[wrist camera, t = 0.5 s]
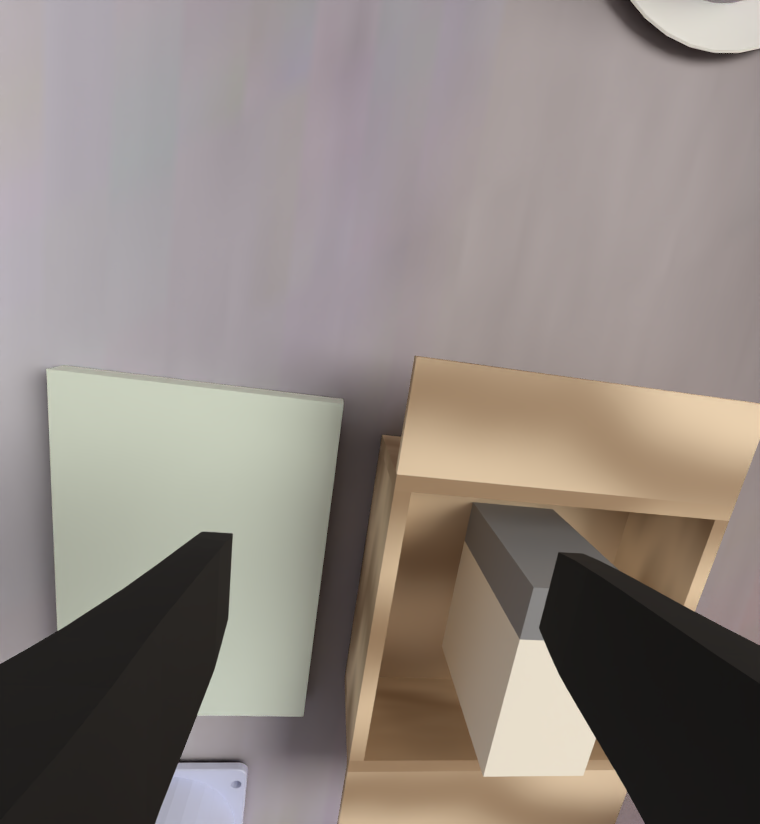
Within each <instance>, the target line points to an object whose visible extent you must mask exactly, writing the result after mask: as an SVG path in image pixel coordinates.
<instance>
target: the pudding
mask: <svg viewBox="0 0 760 824" xmlns="http://www.w3.org/2000/svg"><path fill="white" fill-rule="evenodd" d="M630 1H631V2H632V3H633V4H634V6H635V7H636V8H637V9H638V10H639V12H640V13H641V14H642V15H643V17H644V18H645V19H646V20H648V21H649V22H650V23H651V24H653V25H654V26H655V27H656V28H658V29H659V30H660V31H661V32H663V33H664V34H665V35H666V36H668V37H670V38H672V39H674V40H676V41H678V42H680V43H682V44H684V45H686V46H688V47H691V48H696V49H700V50H704V51H709V52H713V53H741V52H746V51H750V50H755V49H759V48H760V0H744V1H740V2H735V3H712V2H708V1H704V0H630Z"/></svg>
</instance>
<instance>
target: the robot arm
mask: <svg viewBox="0 0 760 824" xmlns="http://www.w3.org/2000/svg"><path fill="white" fill-rule="evenodd" d="M232 541H233V533H220V532H201V533H199V534H198V535H196V536H195V537H193V538H192V539H191V540H189V541H188V542H187V543H185V544H184V545H183V546H181V547H180V548H179V549H177V550H176V551H175V552H173V553H172V554H171V555H169V556H168V557H166V558H165V559H164V560H162V561H161V562H160V563H158V564H157V565H156V566H154V567H153V568H151V569H150V570H149V571H147V572H146V573H144V574H143V575H142V576H140V577H139V578H137V579H136V580H135V581H133V582H132V583H130V584H129V585H128V586H126V587H125V588H123V589H122V590H120V591H119V592H117V593H116V594H114V595H113V596H111V597H110V598H108V599H107V600H105V601H103V602H102V603H100V604H99V605H97V606H96V607H94V608H93V609H91V610H90V611H88V612H87V613H85V614H84V615H82V616H80V617H79V618H77V619H76V620H74V621H73V622H71V623H70V624H68V625H67V626H65V627H63V628H62V629H60V630H58V631H57V632H55V633H54V634H52V635H50V636H49V637H47V638H45V639H43V640H42V641H40V642H38V643H37V644H35V645H33V646H32V647H30V648H28V649H26V650H25V651H23V652H21V653H19V654H17V655H16V656H14V657H12V658H10V659H8V660H7V661H5V662H3V663H1V664H0V824H243V818H244V807H245V797H246V786H247V775H248V767H247V766H246V765H245V764H244V763H240V762H218V763H179V760H180V757H181V755H182V752H183V750H184V747H185V745H186V742H187V740H188V737H189V734H190V732H191V729H192V727H193V724H194V722H195V719H196V717H197V714H198V711H199V709H200V706H201V704H202V701H203V698H204V696H205V693H206V691H207V688H208V686H209V683H210V680H211V678H212V675H213V672H214V670H215V666H216V663H217V659H218V655H219V652H220V648H221V645H222V641H223V637H224V633H225V629H226V626H227V622H228V616H229V597H230V578H231V559H232ZM539 630H540V632H541V635H542V637H543V639H544V642H545V644H546V647H547V649H548V652H549V654H550V656H551V658H552V660H553V663H554V665H555V667H556V669H557V671H558V674H559V676H560V677H561V679H562V681H563V683H564V684H565V686H566V688H567V690H568V691H569V693H570V695H571V697H572V698H573V700H574V702H575V704H576V705H577V707H578V709H579V710H580V712H581V714H582V716H583V717H584V719H585V721H586V722H587V724H588V726H589V727H590V729H591V731H592V733H593V734H594V736H595V738H596V739H597V741H598V743H599V744H600V746H601V748H602V749H603V751H604V753H605V755H606V756H607V758H608V760H609V761H610V763H611V765H612V766H613V768H614V770H615V771H616V773H617V775H618V777H619V778H620V780H621V782H622V783H623V785H624V787H625V788H626V790H627V792H628V793H629V795H630V797H631V799H632V801H633V802H634V804H635V806H636V808H637V810H638V812H639V813H640V815H641V817H642V819H643V821H644V822H645V824H760V645H758V644H756V643H754V642H752V641H750V640H748V639H746V638H744V637H742V636H740V635H738V634H736V633H734V632H732V631H730V630H728V629H726V628H724V627H722V626H721V625H719V624H717V623H715V622H713V621H711V620H709V619H707V618H706V617H704V616H702V615H700V614H698V613H696V612H694V611H693V610H691V609H689V608H687V607H685V606H683V605H681V604H680V603H678V602H676V601H674V600H672V599H671V598H669V597H667V596H665V595H663V594H661V593H660V592H658V591H656V590H654V589H652V588H651V587H649V586H647V585H645V584H643V583H641V582H640V581H638V580H636V579H634V578H632V577H630V576H629V575H627V574H625V573H623V572H621V571H619V570H617V569H615V568H613V567H611V566H609V565H607V564H605V563H603V562H601V561H599V560H597V559H595V558H593V557H590V556H588V555H586V554H583V553H566V552H558V556H557V560H556V563H555V567H554V571H553V575H552V579H551V583H550V587H549V591H548V594H547V598H546V602H545V606H544V610H543V614H542V618H541V622H540V625H539Z"/></svg>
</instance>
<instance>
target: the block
mask: <svg viewBox="0 0 760 824" xmlns="http://www.w3.org/2000/svg"><path fill="white" fill-rule="evenodd" d="M558 552H566V553H583V554H586V555H588V556H590V557H593V558H595V559H597V560H599V561H601V562H603V563H605V564H607V565H609V566H611V567H613V568H615V569H617V568H616V567H615V566H614V565H613V564H612V563H611V562H610V561H609V560H608V559H606V558H605V557H604V556H603V555H602V554H601V553H600V552H599V551H598V550H597V549H596V548H595V547H593V546H592V545H591V544H590V543H589V542H588V541H587V540H586V539H585V538H584V537H583V536H581V535H580V534H579V533H578V532H577V531H576V530H575V529H574V528H573V527H572V526H571V525H570V524H568V523H567V522H566V521H565V520H564V519H563V518H562V517H561V516H560V515H559V514H558V513H557V512H555V511H554V510H553V509H545V508H534V507H523V506H512V505H500V504H489V503H478V502H473V504H472V508H471V513H470V517H469V522H468V527H467V531H466V536H465V541H464V545H463V550H462V554H461V559H460V564H459V568H458V573H457V578H456V582H455V587H454V592H453V596H452V601H451V605H450V610H449V615H448V619H447V624H446V629H445V633H444V638H443V642H442V649H443V652H444V655H445V658H446V661H447V664H448V667H449V671H450V674H451V677H452V680H453V683H454V686H455V689H456V693H457V696H458V699H459V702H460V705H461V708H462V712H463V715H464V718H465V721H466V724H467V727H468V730H469V734H470V737H471V740H472V743H473V746H474V749H475V752H476V756H477V759H478V762H479V765H480V768H481V771H482V774H483V777H504V776H583V775H584V772H585V769H586V766H587V763H588V760H589V757H590V755H591V752H592V749H593V746H594V743H595V740H596V738H595V736H594V734H593V733H592V731H591V729H590V727H589V726H588V724H587V722H586V721H585V719H584V717H583V716H582V714H581V712H580V710H579V709H578V707H577V705H576V704H575V702H574V700H573V698H572V697H571V695H570V693H569V691H568V690H567V688H566V686H565V684H564V683H563V681H562V679H561V677H560V676H559V674H558V671H557V669H556V667H555V665H554V663H553V660H552V658H551V656H550V654H549V652H548V649H547V647H546V644H545V642H544V639H543V637H542V635H541V632H540V630H539V625H540V622H541V618H542V614H543V610H544V606H545V602H546V598H547V594H548V591H549V587H550V583H551V579H552V575H553V571H554V567H555V563H556V560H557V556H558ZM617 570H618V569H617Z"/></svg>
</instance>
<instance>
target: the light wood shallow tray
mask: <svg viewBox="0 0 760 824" xmlns="http://www.w3.org/2000/svg"><path fill="white" fill-rule="evenodd" d="M759 440H760V403H753V402H746V401H739V400H732V399H724V398H717V397H710V396H703V395H695V394H688V393H681V392H674V391H667V390H659V389H652V388H645V387H638V386H630V385H623V384H616V383H609V382H601V381H594V380H587V379H580V378H573V377H565V376H558V375H551V374H544V373H536V372H529V371H522V370H515V369H507V368H500V367H493V366H486V365H479V364H471V363H464V362H457V361H450V360H442V359H435V358H428V357H421V356H415V357H414V363H413V369H412V375H411V381H410V387H409V393H408V399H407V406H406V412H405V418H404V424H403V430H402V436H401V437H399V436H390V435H382V438H381V444H380V451H379V457H378V464H377V470H376V477H375V483H374V490H373V496H372V503H371V509H370V516H369V522H368V529H367V535H366V542H365V548H364V555H363V561H362V568H361V574H360V581H359V587H358V594H357V600H356V607H355V613H354V620H353V626H352V633H351V639H350V646H349V652H348V658H347V665H346V671H345V707H346V743H347V768H346V774H345V780H344V786H343V792H342V798H341V804H340V810H339V816H338V822H337V824H615V822H616V819H617V817H618V814H619V811H620V809H621V806H622V803H623V801H624V798H625V795H626V793H627V790H626V788H625V787H624V785H623V783H622V782H621V780H620V778H619V777H618V775H617V773H616V771H615V770H614V768H613V766H612V765H611V763H610V761H609V760H608V758H607V756H606V755H605V753H604V751H603V749H602V748H601V746H600V744H599V743H598V741H597V739H596V740H595V743H594V746H593V749H592V752H591V755H590V757H589V760H588V763H587V766H586V769H585V772H584V775H583V776H504V777H483V774H482V771H481V768H480V765H479V762H478V759H477V756H476V752H475V749H474V746H473V743H472V740H471V737H470V734H469V730H468V727H467V724H466V721H465V718H464V715H463V712H462V708H461V705H460V702H459V699H458V696H457V693H456V689H455V686H454V683H453V680H452V677H451V674H450V671H449V667H448V664H447V661H446V658H445V655H444V652H443V649H442V642H443V638H444V633H445V629H446V624H447V619H448V615H449V610H450V605H451V601H452V596H453V592H454V587H455V582H456V578H457V573H458V568H459V564H460V559H461V554H462V550H463V545H464V541H465V536H466V531H467V527H468V522H469V517H470V513H471V508H472V504H473V502H478V503H489V504H500V505H512V506H523V507H534V508H545V509H553V510H554V511H555V512H557V513H558V514H559V515H560V516H561V517H562V518H563V519H564V520H565V521H566V522H567V523H568V524H570V525H571V526H572V527H573V528H574V529H575V530H576V531H577V532H578V533H579V534H580V535H581V536H583V537H584V538H585V539H586V540H587V541H588V542H589V543H590V544H591V545H592V546H593V547H595V548H596V549H597V550H598V551H599V552H600V553H601V554H602V555H603V556H604V557H605V558H606V559H608V560H609V561H610V562H611V563H612V564H613V565H614V566H615V567H616V568H617V569H618V570H619V571H621V572H623V573H625V574H627V575H629V576H630V577H632V578H634V579H636V580H638V581H640V582H641V583H643V584H645V585H647V586H649V587H651V588H652V589H654V590H656V591H658V592H660V593H661V594H663V595H665V596H667V597H669V598H671V599H672V600H674V601H676V602H678V603H680V604H681V605H683V606H685V607H687V608H689V609H691V610H693V611H694V612H695V610H696V607H697V604H698V602H699V599H700V596H701V594H702V591H703V588H704V586H705V583H706V580H707V578H708V575H709V572H710V570H711V567H712V564H713V562H714V559H715V556H716V554H717V551H718V549H719V546H720V543H721V541H722V538H723V535H724V533H725V530H726V527H727V525H728V522H729V519H730V517H731V514H732V511H733V509H734V506H735V503H736V501H737V498H738V495H739V493H740V490H741V488H742V485H743V482H744V480H745V477H746V474H747V472H748V469H749V466H750V464H751V461H752V458H753V456H754V453H755V450H756V448H757V445H758V442H759Z"/></svg>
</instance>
